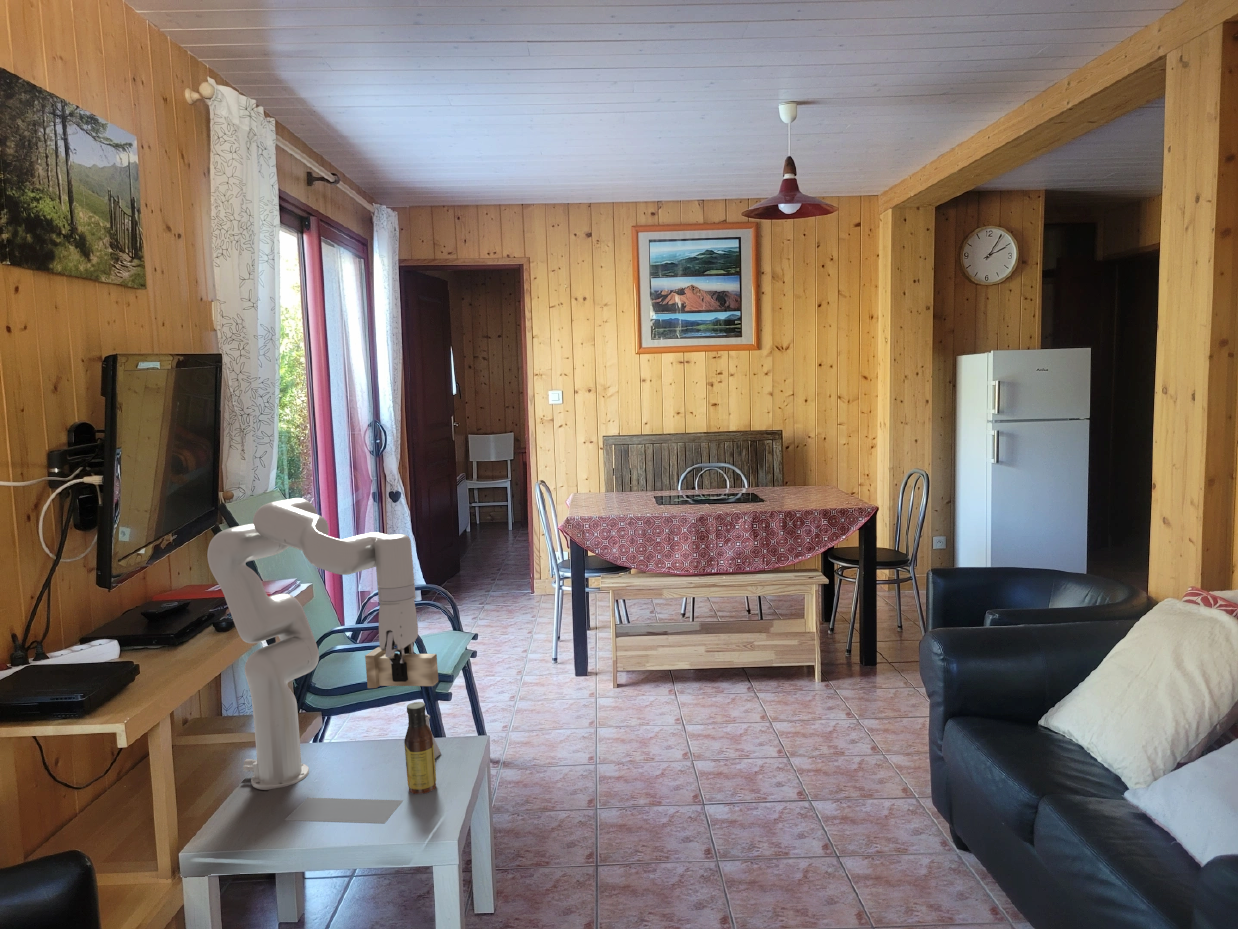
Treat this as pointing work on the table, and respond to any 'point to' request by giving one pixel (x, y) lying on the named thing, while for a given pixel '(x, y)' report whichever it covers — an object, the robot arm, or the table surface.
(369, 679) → the beige t-shaped block
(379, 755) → the table surface
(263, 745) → the robot arm
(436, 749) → the flask
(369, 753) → the table surface
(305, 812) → the mat
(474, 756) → the table surface
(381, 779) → the table surface
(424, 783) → the sauce bottle
